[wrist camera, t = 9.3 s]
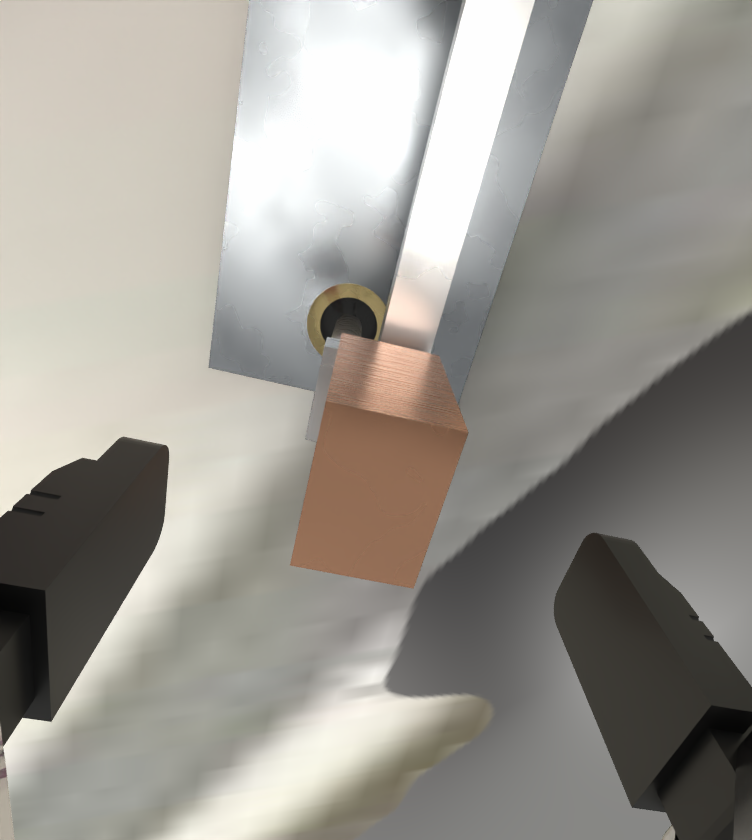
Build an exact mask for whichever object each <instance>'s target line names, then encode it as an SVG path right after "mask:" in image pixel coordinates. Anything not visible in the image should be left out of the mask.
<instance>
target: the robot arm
mask: <svg viewBox="0 0 752 840" xmlns="http://www.w3.org/2000/svg"><path fill="white" fill-rule="evenodd" d="M168 465H169V449H168V447H167V446H166V445H162V444H157V443H152V442H147V441H142V440H137V439H132V438H127V437H121V438H119V439H118V440H117V441H116V442H115V443H114V444H113V445H112V446H111V447H110V448H109V449H108V450H107V451H106V452H105V453H104V454H103V455H102V456H101V457H100V458H99V459H98V460H97V461H96V460H91V459H85V458H81V459H79V460H77V461H74V462H72V463H70V464H68V465H65V466H63V467H61V468H58V469H56V470H54V471H52V472H51V473H50V474H49V475H47V476H46V477H45V478H44V479H43V480H42V481H41V482H40V483H39V484H37V485H36V486H35V487H34V488H33V489H32V490H31V493H30V495H29V494H26V495H25V496H24V497H23V498H22V499H21V500H20V501H18V502H17V503H16V504H15V505H14V506H13V509H12V511H7V512H6V513H5V514H4V515H3V516H2V517H0V840H15V839H14V831H13V822H12V814H11V806H10V797H9V789H8V781H7V772H6V764H5V756H4V751H3V746H4V745H5V743H6V742H7V740H8V739H9V737H10V736H11V734H12V733H13V731H14V729H15V728H16V726H17V725H18V723H19V722H20V720H21V719H22V718H29V719H36V720H43V721H50V722H51V721H52V720H53V718H54V716H55V715H56V713H57V711H58V710H59V708H60V706H61V705H62V703H63V701H64V700H65V698H66V696H67V695H68V693H69V691H70V690H71V688H72V686H73V685H74V683H75V681H76V680H77V678H78V676H79V675H80V673H81V671H82V670H83V668H84V666H85V665H86V663H87V661H88V660H89V658H90V656H91V655H92V653H93V651H94V650H95V648H96V646H97V645H98V643H99V641H100V640H101V638H102V636H103V635H104V633H105V631H106V630H107V628H108V626H109V625H110V623H111V621H112V620H113V618H114V616H115V615H116V613H117V611H118V610H119V608H120V606H121V605H122V603H123V601H124V600H125V598H126V596H127V595H128V593H129V591H130V590H131V588H132V586H133V585H134V583H135V581H136V580H137V578H138V576H139V575H140V573H141V571H142V570H143V568H144V566H145V565H146V563H147V561H148V560H149V558H150V556H151V555H152V553H153V551H154V549H155V547H156V545H157V543H158V540H159V537H160V534H161V531H162V527H163V523H164V516H165V504H166V491H167V478H168ZM554 617H555V622H556V625H557V628H558V630H559V633H560V635H561V637H562V640H563V642H564V645H565V647H566V650H567V652H568V654H569V656H570V659H571V661H572V664H573V666H574V669H575V671H576V674H577V676H578V679H579V681H580V683H581V686H582V688H583V691H584V693H585V695H586V698H587V700H588V703H589V705H590V707H591V710H592V712H593V715H594V717H595V719H596V722H597V724H598V727H599V729H600V732H601V734H602V736H603V739H604V741H605V744H606V746H607V748H608V751H609V753H610V756H611V758H612V760H613V763H614V765H615V768H616V770H617V773H618V775H619V777H620V780H621V782H622V785H623V787H624V789H625V792H626V794H627V797H628V799H629V801H630V804H631V806H632V808H639V809H646V810H653V811H660V812H666V813H667V815H668V817H669V820H670V822H671V824H672V825H671V826H670V827H669V828H668V830H667V831H666V832H665V834H664V836H663V837H662V840H752V687H751V685H750V684H749V683H748V681H747V680H746V679H745V678H744V676H743V675H742V673H741V672H740V671H739V670H738V668H737V667H736V666H735V664H734V663H733V661H732V660H731V659H730V658H729V656H728V655H727V653H726V652H725V651H724V650H723V648H722V647H721V646H720V644H719V643H718V642H715V641H714V640H713V638H714V636H713V635H712V634H711V632H710V631H709V630H708V628H707V627H706V626H705V624H704V623H703V622H702V621H699V620H698V618H699V616H698V615H697V614H696V612H695V611H694V610H693V608H692V607H691V606H690V604H689V603H688V602H687V601H686V599H685V598H684V596H683V595H682V594H681V593H680V592H679V591H678V590H677V589H676V588H675V587H673V586H672V585H671V584H670V583H669V582H668V581H667V580H665V579H664V578H663V577H662V576H661V575H660V574H659V573H658V572H657V571H656V570H655V568H654V567H653V565H652V564H651V563H650V561H649V560H648V558H647V557H646V556H645V554H644V553H643V552H642V550H641V549H640V547H639V546H638V545H637V544H636V543H635V542H634V541H632V540H628V539H623V538H618V537H613V536H608V535H603V534H598V533H591V534H589V535H588V536H586V538H585V539H584V540H583V542H582V544H581V546H580V548H579V549H578V551H577V553H576V555H575V558H574V559H573V561H572V563H571V565H570V567H569V569H568V571H567V573H566V575H565V577H564V579H563V581H562V583H561V585H560V587H559V589H558V591H557V593H556V597H555V602H554Z"/></svg>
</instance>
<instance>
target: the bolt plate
mask: <svg viewBox="0 0 752 840" xmlns="http://www.w3.org/2000/svg"><path fill="white" fill-rule="evenodd" d="M592 2H593V0H249V7H248V16H247V25H246V34H245V43H244V52H243V61H242V70H241V79H240V88H239V97H238V107H237V116H236V125H235V134H234V143H233V152H232V161H231V170H230V179H229V188H228V197H227V206H226V215H225V224H224V234H223V243H222V252H221V261H220V270H219V279H218V288H217V297H216V306H215V315H214V324H213V333H212V342H211V351H210V361H209V368H212V369H217V370H221V371H226V372H230V373H235V374H239V375H244V376H248V377H253V378H257V379H262V380H266V381H271V382H275V383H280V384H284V385H289V386H293V387H298V388H302V389H307V390H311V391H315V389H316V384H317V379H318V374H319V369H320V364H321V360H322V355H323V350H324V345H325V342H326V339H327V337H330V338H331V337H332V334H333V330H334V327H335V324H336V321H337V320H338V319H339V318H340V317H341V316H343V315H353V316H355V317H357V318H358V319H359V320H360V322H361V325H362V333H361V337H363V338H368V339H372V340H376V341H380V342H385V343H389V344H393V345H397V346H402V347H406V348H410V349H414V350H419V351H423V352H427V353H431V354H435V355H439V357H440V359H441V362H442V364H443V365H444V367H445V370H446V373H447V378H448V380H449V383H450V386H451V388H452V391H453V393H454V396H455V399H456V401H457V404H458V403H459V400H460V397H461V394H462V391H463V388H464V385H465V382H466V379H467V376H468V373H469V370H470V367H471V364H472V361H473V358H474V355H475V352H476V349H477V346H478V343H479V340H480V337H481V334H482V331H483V328H484V325H485V322H486V319H487V316H488V313H489V310H490V307H491V304H492V301H493V298H494V295H495V292H496V289H497V286H498V283H499V280H500V277H501V274H502V271H503V268H504V265H505V262H506V259H507V256H508V253H509V250H510V248H511V245H512V242H513V239H514V236H515V233H516V230H517V227H518V224H519V221H520V218H521V215H522V212H523V209H524V206H525V203H526V200H527V197H528V194H529V191H530V188H531V185H532V182H533V179H534V176H535V173H536V170H537V167H538V164H539V161H540V158H541V155H542V152H543V149H544V146H545V143H546V140H547V137H548V134H549V131H550V128H551V125H552V122H553V119H554V116H555V113H556V110H557V107H558V104H559V101H560V98H561V95H562V92H563V89H564V86H565V83H566V80H567V77H568V74H569V71H570V68H571V65H572V62H573V59H574V56H575V53H576V50H577V47H578V44H579V41H580V38H581V35H582V32H583V29H584V26H585V23H586V20H587V17H588V14H589V11H590V8H591V5H592Z"/></svg>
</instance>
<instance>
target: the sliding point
mask: <svg viewBox="0 0 752 840" xmlns="http://www.w3.org/2000/svg"><path fill="white" fill-rule="evenodd" d="M361 333H362V325H361V322H360V320H359V319H358V318H357V317H355V316H353V315H343V316H341V317H340V318H339V319H338V320H337V321H336V324H335V327H334V330H333V334H332V337H331V338H330V337H327V339H326V342H325V345H324V350H323V355H322V360H321V364H320V369H319V374H318V379H317V384H316V389H315V394H314V399H313V403H312V408H311V413H310V418H309V423H308V428H307V433H306V438H305V439H306V440H311V441H316V442H317V444H316V448H315V453H314V457H313V462H312V467H311V471H310V476H309V480H308V485H307V490H306V494H305V499H304V504H303V508H302V513H301V517H300V522H299V527H298V531H297V536H296V540H295V545H294V550H293V554H292V559H291V564H290V565H291V566H296V567H302V568H307V569H312V570H318V571H323V572H328V573H334V574H339V575H344V576H350V577H355V578H360V579H366V580H371V581H376V582H382V583H387V584H392V585H398V586H403V587H408V588H414V586H415V583H416V580H417V577H418V574H419V571H420V569H421V566H422V563H423V560H424V557H425V554H426V552H427V549H428V546H429V543H430V540H431V537H432V534H433V532H434V529H435V526H436V523H437V520H438V517H439V515H440V512H441V509H442V506H443V503H444V500H445V498H446V495H447V492H448V489H449V486H450V483H451V481H452V478H453V475H454V472H455V469H456V466H457V464H458V461H459V458H460V455H461V452H462V449H463V446H464V444H465V441H466V438H467V435H468V430H467V427H466V425H465V422H464V420H463V417H462V414H461V412H460V409H459V407H458V404H457V401H456V399H455V396H454V393H453V391H452V388H451V386H450V383H449V380H448V378H447V373H446V370H445V367H444V365H443V364H442V362H441V359H440V357H439V355H435V354H431V353H427V352H423V351H419V350H414V349H410V348H406V347H402V346H397V345H393V344H389V343H385V342H380V341H376V340H372V339H368V338H363V337H361Z"/></svg>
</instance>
